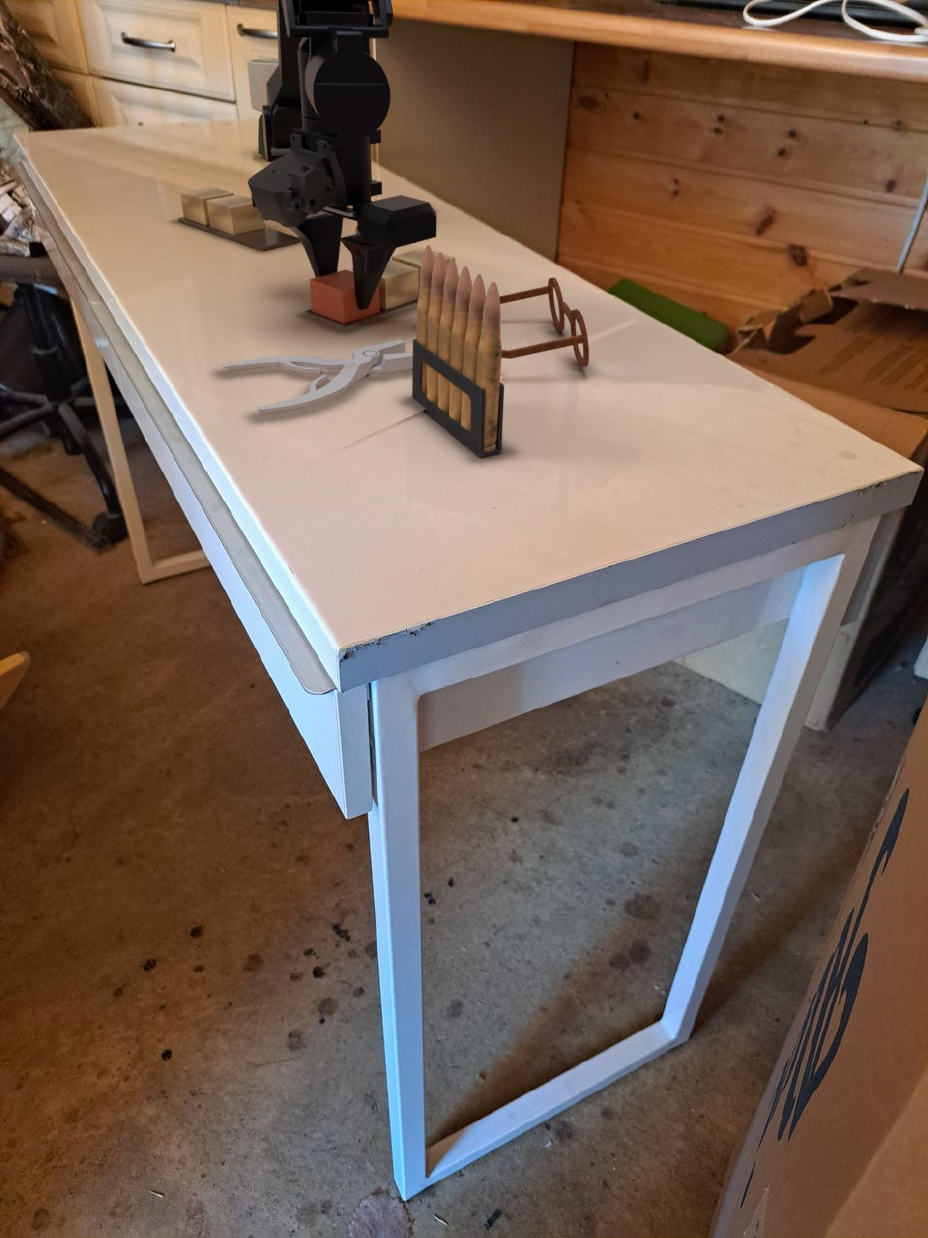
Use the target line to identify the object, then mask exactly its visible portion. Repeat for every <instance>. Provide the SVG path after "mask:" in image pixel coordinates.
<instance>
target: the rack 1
mask: <svg viewBox="0 0 928 1238" xmlns="http://www.w3.org/2000/svg"><path fill="white" fill-rule="evenodd" d="M179 196H180V203H181V208H182V217H181V216H180V217H178V218H177V221H178V222H179V223H182V224H183V225H184V224H185V225H188V226H190V227H193V228H197V229H199V230H202V231H204V232H207V233H210V234H213V235H216V236H219V237H221V238H224V239H228V240H230V241H233V242H236V243H239V244H242V245H244V246H248V247H250V248H253V249H256V250H259V251H262V252H264V251H268V250H272V249H276V248H280V247H284V246H288V245H292V244H298V243H301V240H300V238H299V237H298V236H294V235H291V234H288V233H285V232H282V231H279V230H276V229H273V228H270V227H267V226H266V225H265V220H263V219H262V218H261V216H260V213H259V211H258V208H256V207H253V205H252V197H248V196H245V195H242V194H235V193H234V192H232V191H228V190H225V189H222V188H219V187H216V186H213V185H211V186H203V187H199V188H193V189H188V190H182V191H180V192H179Z"/></svg>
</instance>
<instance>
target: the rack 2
mask: <svg viewBox="0 0 928 1238" xmlns="http://www.w3.org/2000/svg"><path fill="white" fill-rule="evenodd" d="M425 249H426V247H421V248H417V249H414V250H410V251H406V252H403V253H400V254H396V255H392V257H391V259H390V260H389V262H388V264H387V266H386V268H385V271H384V273H383V275H382V277H381V280H380V282H379V302H380V312H379V313H376V314H372V315H369V316H366V317H363V318H360V319H357V320H354V321H351V322H348V323H345V324H344V323H341V322H339V321H336V320H334V319H331V318H328V317H326V316H323V315H321V314H318V313H315V312H313V311H312V308H311V309H308V310H305V311H304V313H306V314H309V315H311V316H314V317H317V318H319V319H322V320H324V321H327V322H329V323H331V324H335V325H336V326H339V327H342V328H347V327H349V326H352V325H355V324H358V323H361V322H364V321H368V320H371V319H373V318H377V317H380V316H383V315H385V314H388V313H391V312H395V311H397V310H400V309H403V308H407V307H410V306H413V305H415V304H418V299H419V286H420V271H421V263H422V258H423V254H424V251H425ZM432 252H433V256H434V261H435V260H436V257H437V255H438V253H439V252H440V251H435V250H432ZM442 254H443V257H444V259H445V263H446V268H448V265H449V263H450V261H451V259H454V260H455V261H456V257H454V256H451V255H448V254H445V253H442ZM351 269H352V270H353V267H352V268H351Z"/></svg>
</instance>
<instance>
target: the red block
mask: <svg viewBox="0 0 928 1238" xmlns="http://www.w3.org/2000/svg"><path fill="white" fill-rule="evenodd" d="M309 287H310V300H311V309H312V311H313V312H315V313H318V314H321V315H323V316H326V317H328V318H331V319H334V320H336V321H339V322H341V323H344V324H345V323H348V322H351V321H354V320H357V319H360V318H363V317H366V316H369V315H372V314H376V313H379V312H380V302H379V284H378V287H377V289H376V291H375V294H374V296H373V298H372V300H371V303H370V305H369V307H368V308H366V309H363V310H360V309H358V307H357V301H356V296H355V287H354V276H353V270H350V269H349V270H348V269H342V270H338V271H337V272H335V273H331V274H328V275H324V276H321V277H317V278H316V277H313V278H310V279H309Z"/></svg>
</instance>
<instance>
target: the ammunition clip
mask: <svg viewBox="0 0 928 1238" xmlns="http://www.w3.org/2000/svg"><path fill="white" fill-rule="evenodd" d="M431 247H432V246H431V245H429V244H427V245H426V247H425V251H424V254H423V258H422V263H421V271H420V286H419V299H418V303H416V304H417V305H416V338H414V339H412V353H413V366H412V369H411V371H412V372H411V373H412V374H411V375H412V376H411V398H412V399H413V400H414V401H415V402H417V403H418V404H419V405H420V406H422V408H424V409H423V410H422V411H423V412H424V413H425V414H426V415H427V416H428V417H430V418H431V419H432V420H433V421H434V422H436V423H437V424H439V426H441V427H442V428H443V429H444V430H445V431H446V432H447V433H449V434H450V435H451V436H452V437H454V438H455V439H456V440H457V441H458V442H460V443H461V444H462V445H464V447H466V448H467V449H468V450H469V451H470V452H471V453H473V454H474V455H475V456H477V457H478V458H480V459H481V458H484V457H488V456H492V455H497V454H500V453H502V451H503V450H502V448H503V425H504V400H505V399H504V398H505V385H504V383H502V382H501V372H502V358H501V357H502V350H503V347H502V339H501V333H502V331H501V315H502V313H501V304H500V299H499V296H500V293H499V290H498V286H497V283H496V282H495V281H492V282H491V283H490V285H489V287H488V290H487V292H486V287H485V283H484V279H483V276H482V274H481V273H477V275H476V277H475V278H474V281H473V283H472V277H471V273H470V271H469V267H468V266H467V265H465V266H463V267H462V269H461V272H460V274H459V270H458V265H457V263H456V259H455V260H454V259H451V261H450V263H449V265H448V268H446V263H445V259H444V257H443V254H444V253H443V252H441V251H438V252H439V253H438V255H437V257H436V260H435V261H434V256H433V252H432V251H433V250H432V248H431Z"/></svg>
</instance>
